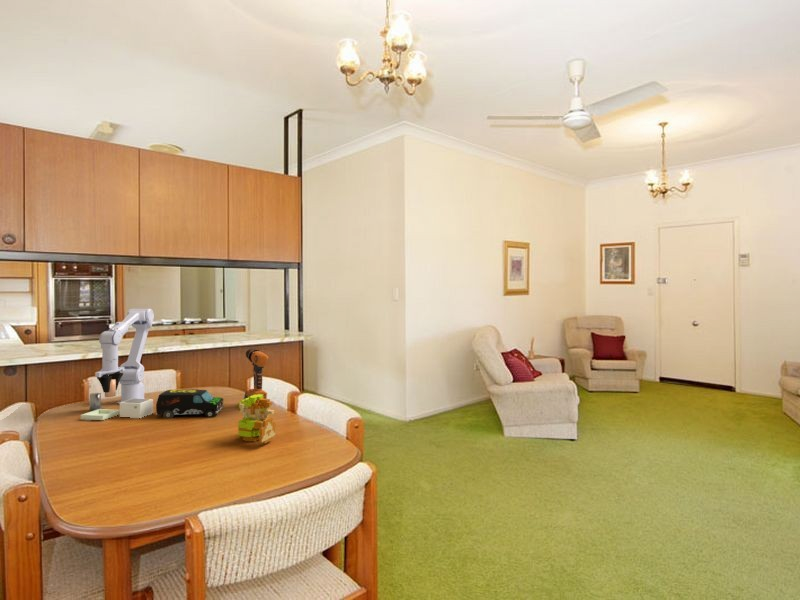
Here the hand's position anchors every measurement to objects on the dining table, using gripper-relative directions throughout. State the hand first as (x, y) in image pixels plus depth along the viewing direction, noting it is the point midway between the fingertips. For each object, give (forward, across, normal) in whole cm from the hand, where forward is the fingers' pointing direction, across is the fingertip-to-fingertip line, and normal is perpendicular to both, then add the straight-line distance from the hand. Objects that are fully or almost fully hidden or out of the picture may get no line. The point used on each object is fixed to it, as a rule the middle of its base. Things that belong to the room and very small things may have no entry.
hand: (110, 391), depth 199 cm
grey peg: (+8, 0, -7) cm, 11 cm away
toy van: (+9, 0, +37) cm, 38 cm away
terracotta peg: (+2, 0, 0) cm, 2 cm away
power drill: (+9, -21, +55) cm, 59 cm away
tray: (+8, +10, +4) cm, 14 cm away
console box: (+8, +5, +16) cm, 19 cm away
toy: (+8, +26, +77) cm, 82 cm away
